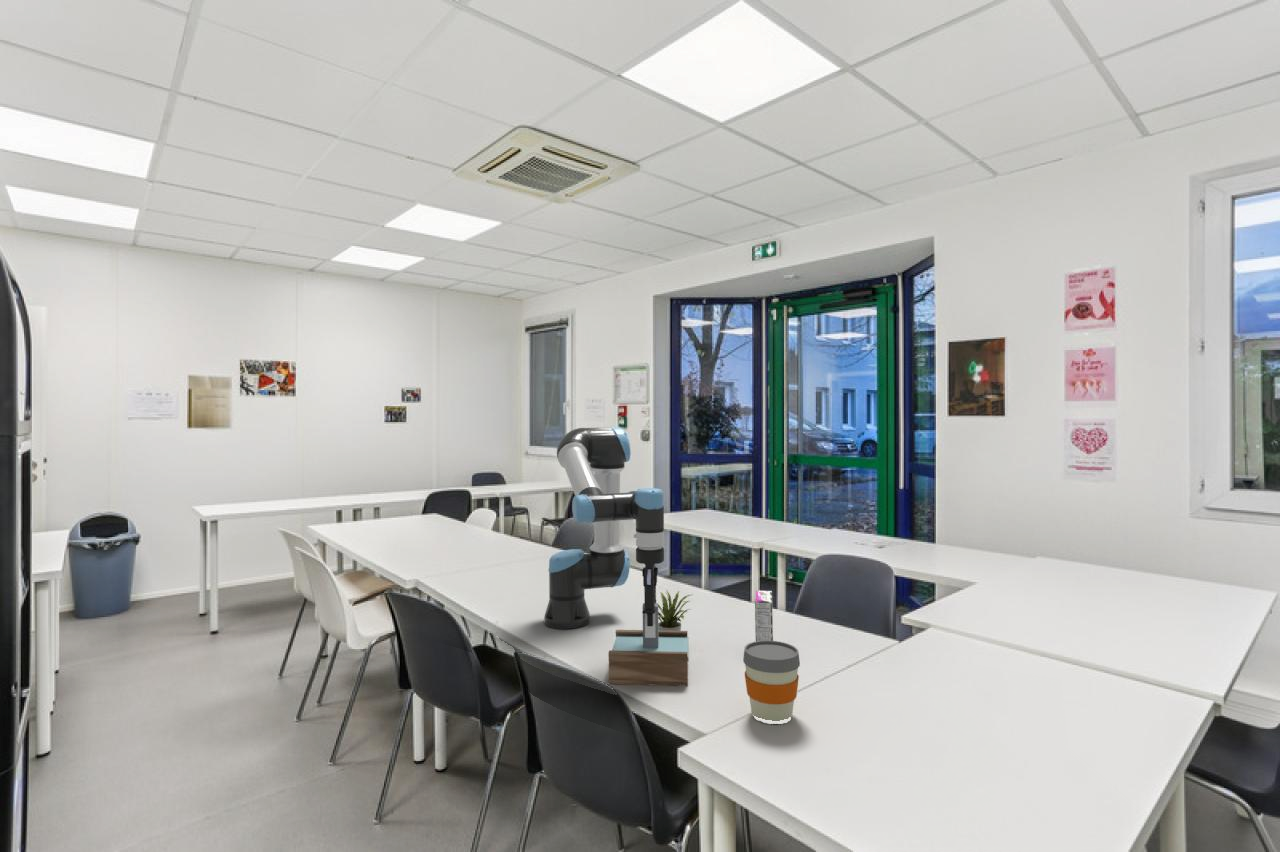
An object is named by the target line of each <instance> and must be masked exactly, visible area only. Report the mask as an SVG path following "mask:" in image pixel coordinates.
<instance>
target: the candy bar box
mask: <svg viewBox="0 0 1280 852" xmlns="http://www.w3.org/2000/svg"><path fill="white" fill-rule="evenodd" d="M773 611H774V610H773V591H772V590H756V591H755V599H754V619H755V620H754V621H755V622H754V623H755V626H754V627H755V642H756V641H774V627H773V626H774V625H773V623H774V622H773V621H774V618H773V615H774V613H773Z"/></svg>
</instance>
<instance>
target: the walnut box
mask: <svg viewBox="0 0 1280 852" xmlns="http://www.w3.org/2000/svg"><path fill="white" fill-rule="evenodd" d="M658 631H659V636H663V637H688V630H681V631H662V630H658ZM616 636H643V629H616V630H615V637H616ZM688 665H689V661H688V657H687V652H667V651H612V650H610V649H609V651H608V681H609V682H608V685H632V686H633V685H635V686H637V685H638V686H639V685H640V686H643V685H645V686H679V685H686V687H687V686H688V684H689V683H688V681H689V678H688V675H689V674H688V673H689V672H688V671H689V670H688V669H689V666H688Z"/></svg>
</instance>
